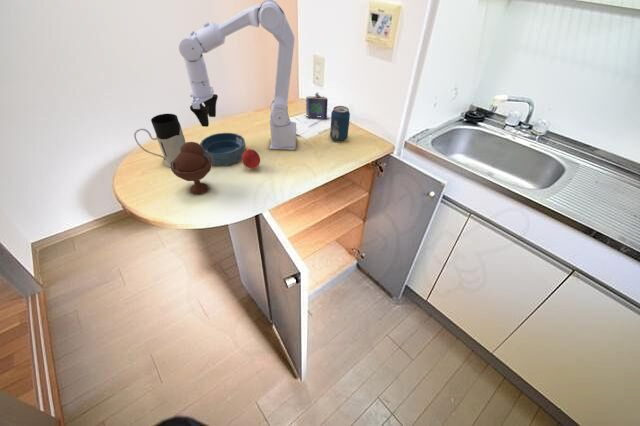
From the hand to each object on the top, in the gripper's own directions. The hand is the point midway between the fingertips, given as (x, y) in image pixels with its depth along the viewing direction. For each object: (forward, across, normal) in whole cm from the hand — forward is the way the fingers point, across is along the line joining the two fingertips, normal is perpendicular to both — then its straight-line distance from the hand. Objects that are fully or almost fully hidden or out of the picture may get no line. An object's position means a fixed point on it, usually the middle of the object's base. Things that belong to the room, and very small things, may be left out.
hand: (209, 121), depth 101 cm
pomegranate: (+10, +13, +17) cm, 24 cm away
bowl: (+10, +6, +5) cm, 13 cm away
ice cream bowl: (+10, +26, +3) cm, 28 cm away
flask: (+10, -30, +36) cm, 48 cm away
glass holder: (+10, +12, -11) cm, 20 cm away
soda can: (+10, -11, +46) cm, 48 cm away
